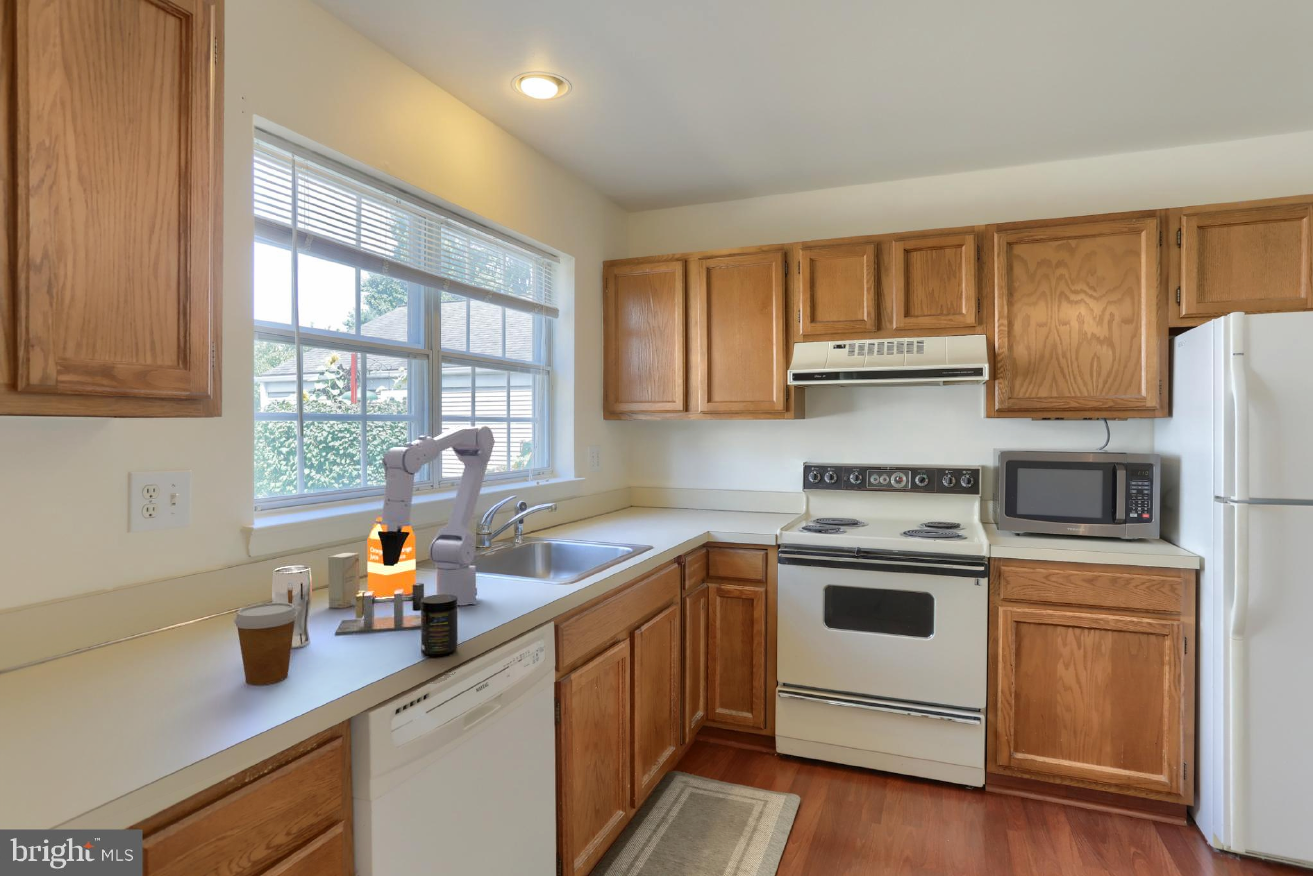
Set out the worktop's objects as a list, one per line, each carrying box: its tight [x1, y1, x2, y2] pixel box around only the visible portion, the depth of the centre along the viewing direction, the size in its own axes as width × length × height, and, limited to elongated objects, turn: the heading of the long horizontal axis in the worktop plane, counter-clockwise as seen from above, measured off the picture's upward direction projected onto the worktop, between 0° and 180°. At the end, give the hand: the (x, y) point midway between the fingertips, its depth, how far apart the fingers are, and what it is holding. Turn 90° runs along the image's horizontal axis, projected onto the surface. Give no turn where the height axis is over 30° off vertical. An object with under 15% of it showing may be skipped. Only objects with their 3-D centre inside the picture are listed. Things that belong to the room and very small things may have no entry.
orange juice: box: [367, 516, 416, 598], centre depth 178 cm, size 8×9×20 cm
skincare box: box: [327, 552, 361, 609], centre depth 167 cm, size 6×4×12 cm
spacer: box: [355, 590, 366, 619], centre depth 149 cm, size 1×5×5 cm, turn 16°
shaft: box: [351, 582, 425, 612], centre depth 150 cm, size 15×2×6 cm, turn 106°
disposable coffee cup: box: [233, 602, 298, 686], centre depth 119 cm, size 10×10×12 cm
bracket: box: [334, 589, 421, 636], centre depth 150 cm, size 18×9×7 cm, turn 106°
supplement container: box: [420, 594, 459, 659], centre depth 132 cm, size 7×7×10 cm
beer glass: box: [271, 565, 313, 650], centre depth 137 cm, size 7×7×15 cm
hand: (390, 564), depth 150 cm, fingers open, 7 cm apart
